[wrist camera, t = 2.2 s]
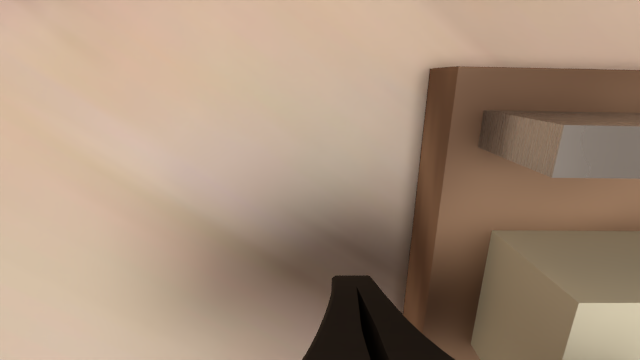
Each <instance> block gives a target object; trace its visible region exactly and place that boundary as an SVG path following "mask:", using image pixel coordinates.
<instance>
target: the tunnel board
mask: <svg viewBox="0 0 640 360" xmlns="http://www.w3.org/2000/svg"><path fill="white" fill-rule="evenodd" d="M484 110H500V111H559V112H618V113H640V70H599V69H553V68H506V67H460V66H458V67H445V68H433V69H430V76H429V85H428V94H427V103H426V112H425V121H424V130H423V139H422V148H421V157H420V167H419V176H418V185H417V194H416V203H415V212H414V221H413V230H412V239H411V248H410V257H409V266H408V275H407V284H406V293H405V302H404V311H403V315H404V316H405V317H406V318H407V320H408V321H409V322H410V323H412V324H413V325H414V326H415V327H416V328H417V329H418V330H419V331H420V332H421V333H422V334H423V335H425V336H426V337H427V338H428V339H429V340H431V341H432V342H433V343H434V344H435V345H437V346H438V347H439V348H440V349H442V350H443V351H444V352H446V353H447V354H448V355H450V356H451V357H452V358H454V359H455V360H480V359H479V357H478V355H477V354H476V352H475V350H474V349H473V347H472V345H471V340H472V335H473V329H474V324H475V319H476V313H477V308H478V303H479V297H480V292H481V287H482V281H483V276H484V271H485V265H486V260H487V255H488V249H489V244H490V239H491V233H492V230H500V231H640V179H620V178H551V177H549V176H546V175H544V174H541V173H539V172H537V171H534V170H532V169H529V168H527V167H524V166H522V165H520V164H517V163H515V162H512V161H510V160H507V159H505V158H503V157H500V156H498V155H495V154H493V153H490V152H488V151H486V150H483V149H481V148H478V143H479V137H480V131H481V124H482V118H483V112H484Z"/></svg>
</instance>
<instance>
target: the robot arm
mask: <svg viewBox="0 0 640 360" xmlns="http://www.w3.org/2000/svg"><path fill="white" fill-rule="evenodd" d="M302 360H455V359H454V358H452V357H451V356H450V355H448V354H447V353H446V352H444V351H443V350H442V349H440V348H439V347H438V346H437V345H435V344H434V343H433V342H432V341H431V340H429V339H428V338H427V337H426V336H425V335H423V334H422V333H421V332H420V331H419V330H418V329H417V328H416V327H415V326H414V325H413V324H412V323H410V322H409V321H408V320H407V318H406V317H405V316H404V315H403V314H402V313H401V312H400V311H399V310H398V309H397V308H396V307H395V306H394V305H393V303H392V302H391V301H390V300H389V299H388V298H387V297H386V295H385V294H384V293H383V292H382V291H381V289H380V288H379V287H378V286H377V284H376V283H375V282H374V281H373V279H372V278H371V277H370V276H334V277H333V278H332V292H331V296H330V300H329V303H328V307H327V310H326V313H325V315H324V318H323V320H322V323H321V325H320V328H319V330H318V332H317V334H316V336H315V338H314V340H313V342H312V344H311V346H310V348H309V349H308V351H307V353H306V354H305V356H304V358H303V359H302Z"/></svg>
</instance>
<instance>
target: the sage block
mask: <svg viewBox="0 0 640 360" xmlns="http://www.w3.org/2000/svg"><path fill="white" fill-rule="evenodd" d="M471 345H472V347H473V349H474V350H475V352H476V354H477V355H478V357H479V359H480V360H640V231H500V230H492V233H491V239H490V244H489V249H488V255H487V260H486V265H485V271H484V276H483V281H482V287H481V292H480V297H479V303H478V308H477V313H476V319H475V324H474V329H473V335H472V340H471Z"/></svg>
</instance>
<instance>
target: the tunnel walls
mask: <svg viewBox="0 0 640 360" xmlns="http://www.w3.org/2000/svg"><path fill="white" fill-rule="evenodd" d="M478 148H481V149H483V150H486V151H488V152H490V153H493V154H495V155H498V156H500V157H503V158H505V159H507V160H510V161H512V162H515V163H517V164H520V165H522V166H524V167H527V168H529V169H532V170H534V171H537V172H539V173H541V174H544V175H546V176H549V177H551V178H620V179H640V113H618V112H559V111H500V110H484V112H483V118H482V124H481V131H480V137H479V143H478Z"/></svg>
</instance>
